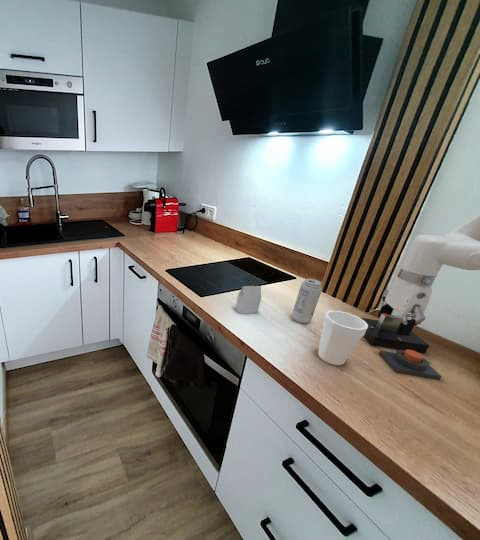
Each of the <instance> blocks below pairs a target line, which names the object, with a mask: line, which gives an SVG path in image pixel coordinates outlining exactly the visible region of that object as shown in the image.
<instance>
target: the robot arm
mask: <svg viewBox="0 0 480 540" xmlns="http://www.w3.org/2000/svg"><path fill="white" fill-rule="evenodd" d="M443 265H445V266H448V267H453V268H457V269H461V270H465V271H480V215H477V216H475V217H473V218H471V219H469V220H467V221H465V222H464V223H462V224H460V225H459V226H457V227H456V228H454V229H452V230H450V231H449V232H448V233H446V234H444V236H441V235H435V234H427V233H426V234H419V235H417V236H415V238H414V239H413V241H412V243H411V245H410V247H409V250H408V252H407V254H406V256H405V259H404V261H403V262H402V264H401V267H400V269H399V272H398V274H397V276H396V278H395V279H394V281H393V282H392V284H391V285H390V287H389V289H385V290H383V295H382V298H381V299H382V302H381V304H380V305H381V307H380V309H379V310H378V314H377V317H378V318H379V319H380V317H381V314H383V313H385V314H388V315H393V312H394V310H395V311H396V312H397V313H398V314H399V315H400V316H402V317H403V323H402V322H401V323H400V325H399V327H398V329H397V331H396V334H398V335H404V336H409V335H410V333H411V331H413V329H414V327H416V326H418V325H420V324H421V323H423V322H424V321H425V320H426V316H425V311H426V309H427V307H428V305H429V302H430V299H431V296H432V292H433V287H432V285H433V284H434V282H435V280H436V278H437V276H438V275H439V272H440V270H441V268H442V267H443ZM408 318H410V319H411V320H408Z"/></svg>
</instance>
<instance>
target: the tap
mask: <svg viewBox="0 0 480 540" xmlns="http://www.w3.org/2000/svg"><path fill="white" fill-rule="evenodd" d="M378 320H379V321H378V323H377V325H376V327H377V328H378V329H379V330H385V331H392V332H396V331H397V329H398V327H399V325H400V323H401V322H402V323H403V317H402V315H394V314H391V315H388V314H385V313H383V314H381V317H380V318H379V319H378ZM408 320H411V318H410V317H408Z"/></svg>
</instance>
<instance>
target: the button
mask: <svg viewBox="0 0 480 540" xmlns="http://www.w3.org/2000/svg"><path fill="white" fill-rule="evenodd" d="M403 356H404V357H405V358H406V359H408V360H410V361H413V362H416V363H420V362H421V360H422V359H423V358H424V355H423V354H422V353H418V352H416V351H413V350H405V352H404V354H403Z"/></svg>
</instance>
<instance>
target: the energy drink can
mask: <svg viewBox="0 0 480 540" xmlns="http://www.w3.org/2000/svg"><path fill="white" fill-rule="evenodd" d="M322 290H323V286H322V282H321V281H320V280H318V279H315V278H305V279H304V280H303V282H302V283H301V284H300V287H299V289H298V293H297V296H296V299H295V303H294V305H293V309H292V313H291V317H292V319H293V320H294V321H295V322H297V323H299V324H304V325H305V324H308V323H310V322H312V319H313V317H314V314H315V311H316V308H317V305H318V303H319V301H320V300H319V299H320V296H321V294H322V292H323V291H322Z"/></svg>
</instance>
